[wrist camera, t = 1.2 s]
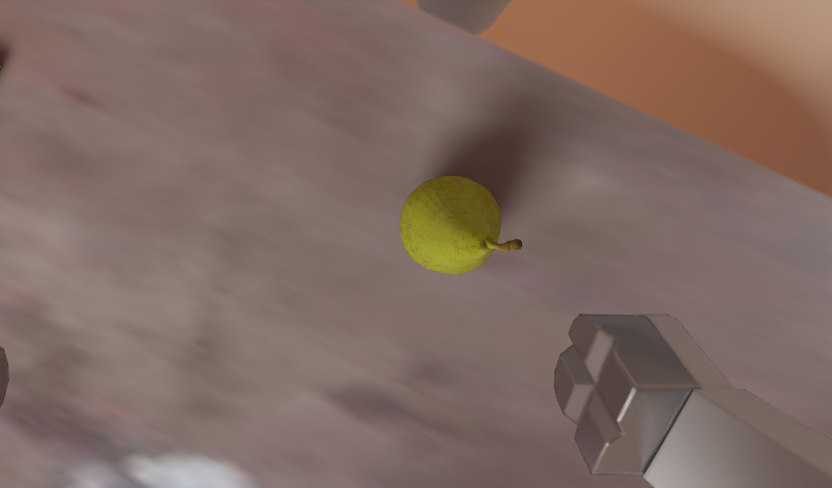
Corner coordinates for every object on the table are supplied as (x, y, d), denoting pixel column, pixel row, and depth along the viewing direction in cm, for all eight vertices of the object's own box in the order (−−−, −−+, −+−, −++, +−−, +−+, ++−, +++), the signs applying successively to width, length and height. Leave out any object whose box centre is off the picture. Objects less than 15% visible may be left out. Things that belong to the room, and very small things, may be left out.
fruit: (380, 209, 35) (378, 230, 23) (457, 155, 35) (494, 150, 23) (432, 282, 36) (455, 339, 24) (507, 230, 36) (568, 262, 24)
